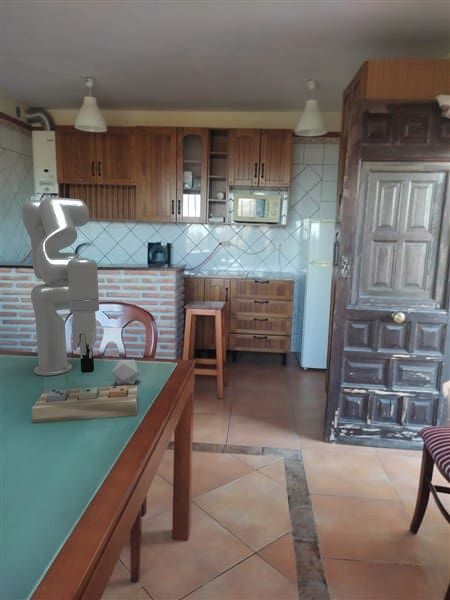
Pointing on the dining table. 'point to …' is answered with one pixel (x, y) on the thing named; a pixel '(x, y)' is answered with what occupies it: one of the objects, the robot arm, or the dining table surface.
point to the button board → (85, 406)
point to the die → (126, 372)
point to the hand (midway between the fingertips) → (87, 371)
